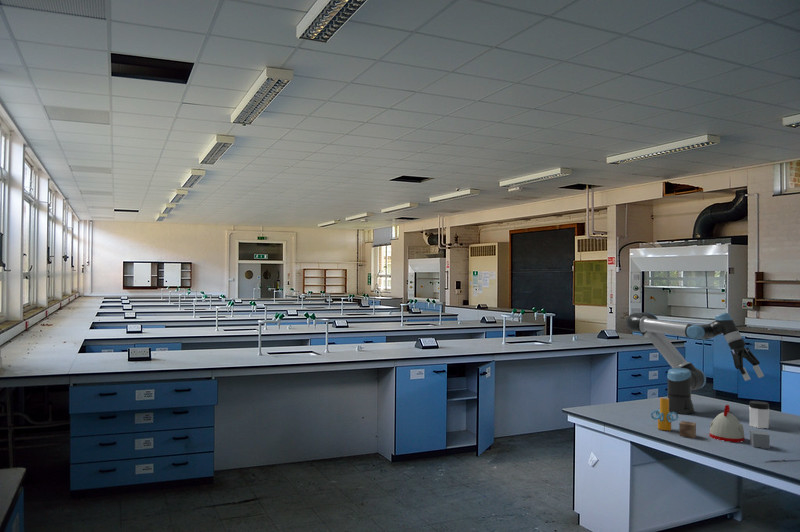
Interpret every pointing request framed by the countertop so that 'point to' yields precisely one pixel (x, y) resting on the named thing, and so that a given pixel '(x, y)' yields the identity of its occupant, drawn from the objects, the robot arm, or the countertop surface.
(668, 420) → the yellow column with loops
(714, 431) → the kitchen timer
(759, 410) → the jar
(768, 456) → the countertop surface
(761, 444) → the slate block
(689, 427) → the walnut block
